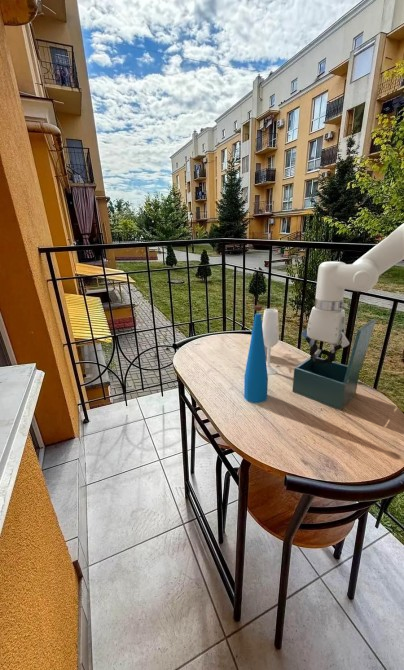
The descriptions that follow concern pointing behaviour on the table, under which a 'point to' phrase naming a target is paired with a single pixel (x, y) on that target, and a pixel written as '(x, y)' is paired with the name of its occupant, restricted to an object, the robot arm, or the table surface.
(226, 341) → the table surface
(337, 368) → the tin box
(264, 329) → the champagne flute
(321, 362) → the watch
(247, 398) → the bottle
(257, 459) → the table surface
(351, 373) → the lid
